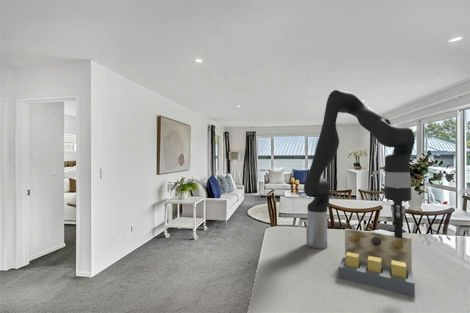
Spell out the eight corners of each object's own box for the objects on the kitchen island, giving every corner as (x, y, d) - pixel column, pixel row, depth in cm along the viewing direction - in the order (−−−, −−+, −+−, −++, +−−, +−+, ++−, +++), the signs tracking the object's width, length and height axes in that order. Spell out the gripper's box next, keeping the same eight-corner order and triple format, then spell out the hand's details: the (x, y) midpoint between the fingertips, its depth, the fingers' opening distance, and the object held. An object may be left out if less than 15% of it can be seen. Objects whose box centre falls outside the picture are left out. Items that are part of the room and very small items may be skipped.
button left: (345, 269, 89) (345, 255, 89) (347, 265, 92) (347, 251, 92) (358, 271, 87) (357, 257, 87) (359, 267, 90) (359, 254, 90)
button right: (391, 279, 81) (391, 264, 81) (391, 274, 85) (391, 260, 85) (406, 282, 79) (406, 267, 79) (405, 277, 82) (405, 262, 82)
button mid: (367, 274, 85) (367, 259, 85) (368, 269, 88) (368, 255, 88) (381, 277, 83) (380, 262, 83) (381, 272, 86) (381, 258, 86)
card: (345, 263, 99) (344, 229, 100) (346, 260, 103) (346, 226, 103) (411, 277, 87) (411, 238, 88) (411, 273, 91) (410, 235, 91)
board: (338, 278, 87) (338, 266, 87) (343, 267, 96) (343, 257, 96) (414, 296, 75) (414, 283, 75) (412, 282, 84) (412, 271, 84)
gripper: (384, 183, 90) (385, 231, 90) (383, 186, 79) (384, 240, 78) (409, 184, 86) (411, 234, 86) (412, 188, 75) (413, 245, 74)
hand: (398, 237), depth 82 cm, fingers closed
